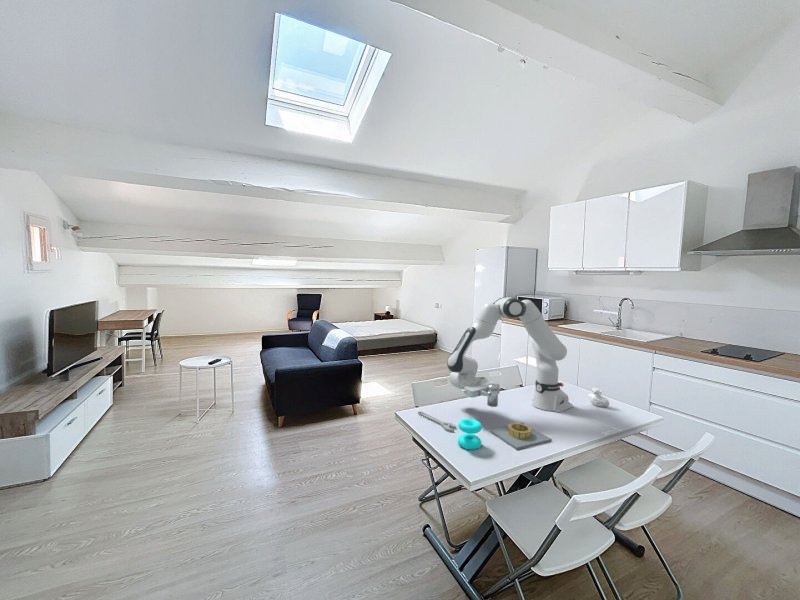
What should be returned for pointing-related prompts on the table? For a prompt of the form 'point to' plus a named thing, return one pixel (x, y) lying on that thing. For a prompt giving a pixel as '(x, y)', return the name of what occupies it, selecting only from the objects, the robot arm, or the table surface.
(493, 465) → the table surface
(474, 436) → the donuts
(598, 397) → the duck figurine
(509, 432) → the brass ring
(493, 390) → the cylinder
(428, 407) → the table surface
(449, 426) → the adjustable wrench
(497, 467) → the table surface
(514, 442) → the plate
